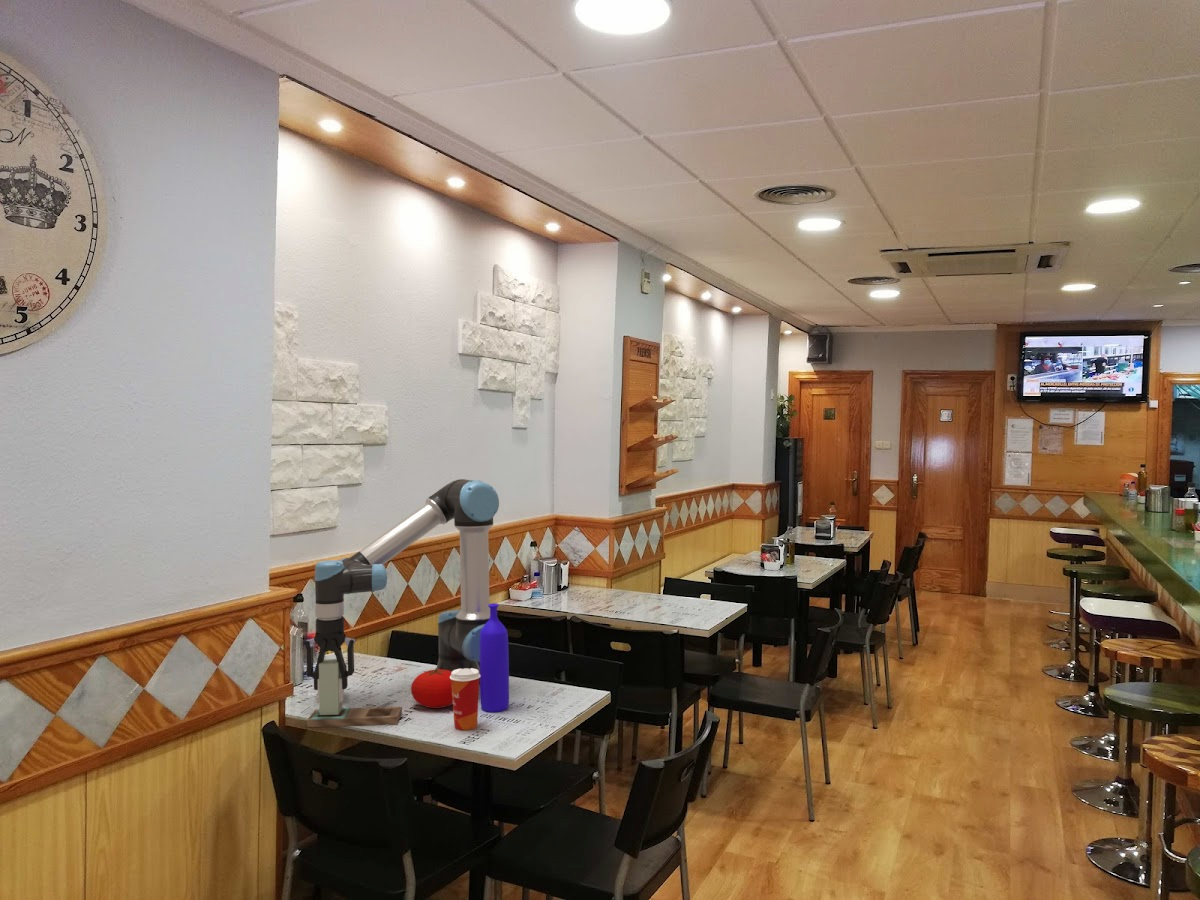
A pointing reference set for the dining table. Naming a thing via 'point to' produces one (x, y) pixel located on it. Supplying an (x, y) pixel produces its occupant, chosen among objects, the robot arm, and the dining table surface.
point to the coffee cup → (465, 697)
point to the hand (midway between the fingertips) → (331, 700)
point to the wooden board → (356, 717)
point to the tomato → (433, 688)
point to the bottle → (494, 664)
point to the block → (329, 687)
